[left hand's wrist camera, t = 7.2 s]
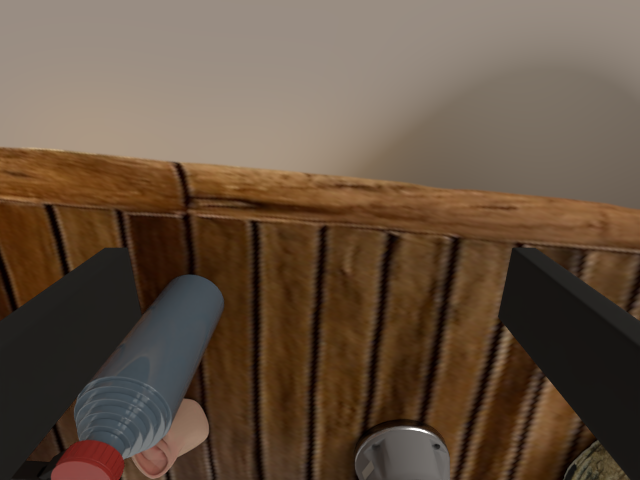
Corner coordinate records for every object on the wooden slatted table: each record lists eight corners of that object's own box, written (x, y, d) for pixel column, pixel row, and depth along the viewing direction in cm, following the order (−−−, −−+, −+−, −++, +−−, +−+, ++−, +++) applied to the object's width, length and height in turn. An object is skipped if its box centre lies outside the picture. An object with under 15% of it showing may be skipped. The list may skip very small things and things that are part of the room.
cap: (105, 432, 27) (91, 454, 26) (136, 472, 29) (125, 495, 27) (54, 447, 28) (37, 469, 26) (86, 485, 29) (73, 508, 28)
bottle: (207, 266, 48) (104, 423, 25) (234, 317, 51) (162, 500, 28) (151, 285, 49) (2, 452, 26) (180, 334, 52) (68, 524, 29)
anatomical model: (176, 408, 52) (220, 459, 55) (185, 387, 55) (226, 436, 59) (102, 439, 54) (149, 486, 58) (116, 417, 58) (159, 462, 61)
